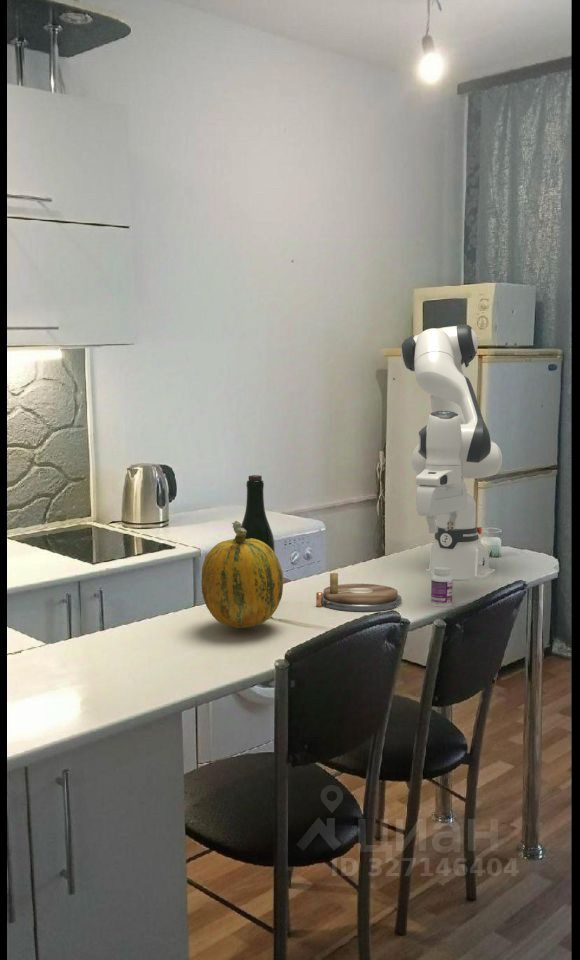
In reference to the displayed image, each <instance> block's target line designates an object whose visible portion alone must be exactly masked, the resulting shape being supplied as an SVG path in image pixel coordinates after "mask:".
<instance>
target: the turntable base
mask: <svg viewBox="0 0 580 960" xmlns="http://www.w3.org/2000/svg"><path fill="white" fill-rule="evenodd" d="M315 593H316V594H315V595H316V596H315V598H316V600H315V601H316V603H315V607H316V608H323V607H324V608H327V609H329V610H330V609H331V610H333V611H334V610H335V611H341V612H342V611H343V612H351V613H352V612H354V613H371V612H372V613H373V612H374V613H376V612H385V611H391V610H394V608H395V609H397V608H398V607H397V606H399V605H400V604H401V605H402V603H403V602H402V601H403V599H402V596H401V595H400V594H398V598H397V599H396V600H395V601H392V602H388V603H383V604H371V605H355V604H343V603H337V602H332V601H329V600H326V599H325V598H324V597H323V591H322V592H321V591H319V592H315ZM401 602H402V603H401ZM401 605H400V606H401ZM400 606H399V607H400ZM396 607H397V608H396Z"/></svg>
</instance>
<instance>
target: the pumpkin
mask: <svg viewBox="0 0 580 960" xmlns="http://www.w3.org/2000/svg"><path fill="white" fill-rule="evenodd" d="M241 524H242V522H239V521H238V520H235V521H234V522H231V525H232V528H233V531H234V533H235V536H234V538H233V539H227V540H223V541H221V542H218V543H217V544H215V545H214V546H213V547H212V548H211V549H210V550H209V551H208V553H207V554H206V556H205V558H204V561H203V563H202V569H201V580H200V581H201V582H200V584H201V594H202V598H203V601H204V604H205V606H206V608H207V610H208V611H209V613H210V614H211V615H212V617H213V618H214V620H216V621H217V622H218V623H220V624H222V625H224V626H226V627H229V628H239V629H240V628H252V627H256V626H259V625H261V624H263V623H265V622H267V621H268V620H269V619H270V618H271V617H272V616H273V615H274V613H275V612H277V609H278V607H279V605H280V602H281V600H282V596H283V591H284V574H283V570H282V566H281V563H280V561H279V559H278V556H277V554H276V552H275V553H274V551H273V550H272V549H271V548H270V547H269V546H268V545H267V544H265V543H264V542H262V541H260V540H257V539H252V538H250V539H245V538H246V533H247V531H246V530H245V529H244V528H241Z"/></svg>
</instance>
